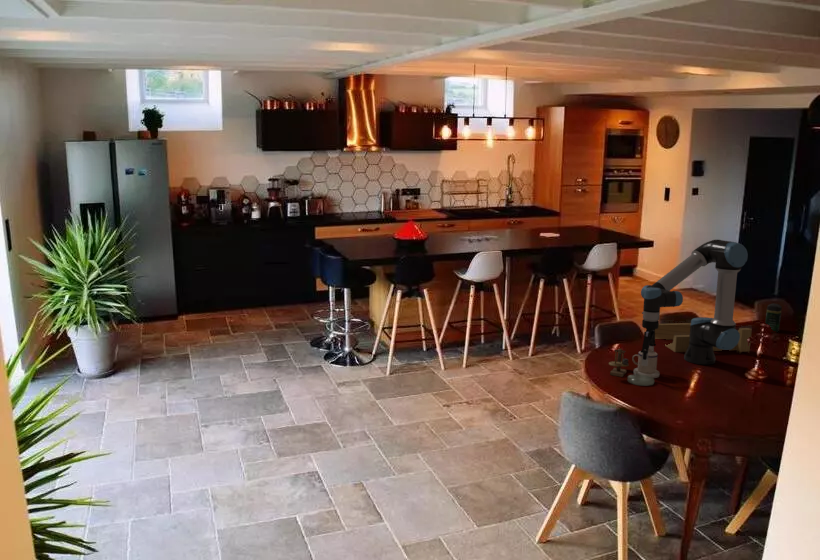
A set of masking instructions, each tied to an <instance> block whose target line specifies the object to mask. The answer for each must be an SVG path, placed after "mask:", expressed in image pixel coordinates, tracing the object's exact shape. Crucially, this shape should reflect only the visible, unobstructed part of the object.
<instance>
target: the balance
mask: <svg viewBox="0 0 820 560" xmlns="http://www.w3.org/2000/svg"><path fill="white" fill-rule="evenodd" d="M613 352H615V355H614V361H609V362H608V365H609V366H610V367H613V369H611V370H610V372H609V375H610V376H614V377H621V378H623V377H624V376H625V375H626V374H627V369H624V368H621V367H629V366H630V365H629V359H628V358H624V355H625V353H626V350H623V349H622V348H618V349H614V351H613Z"/></svg>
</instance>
